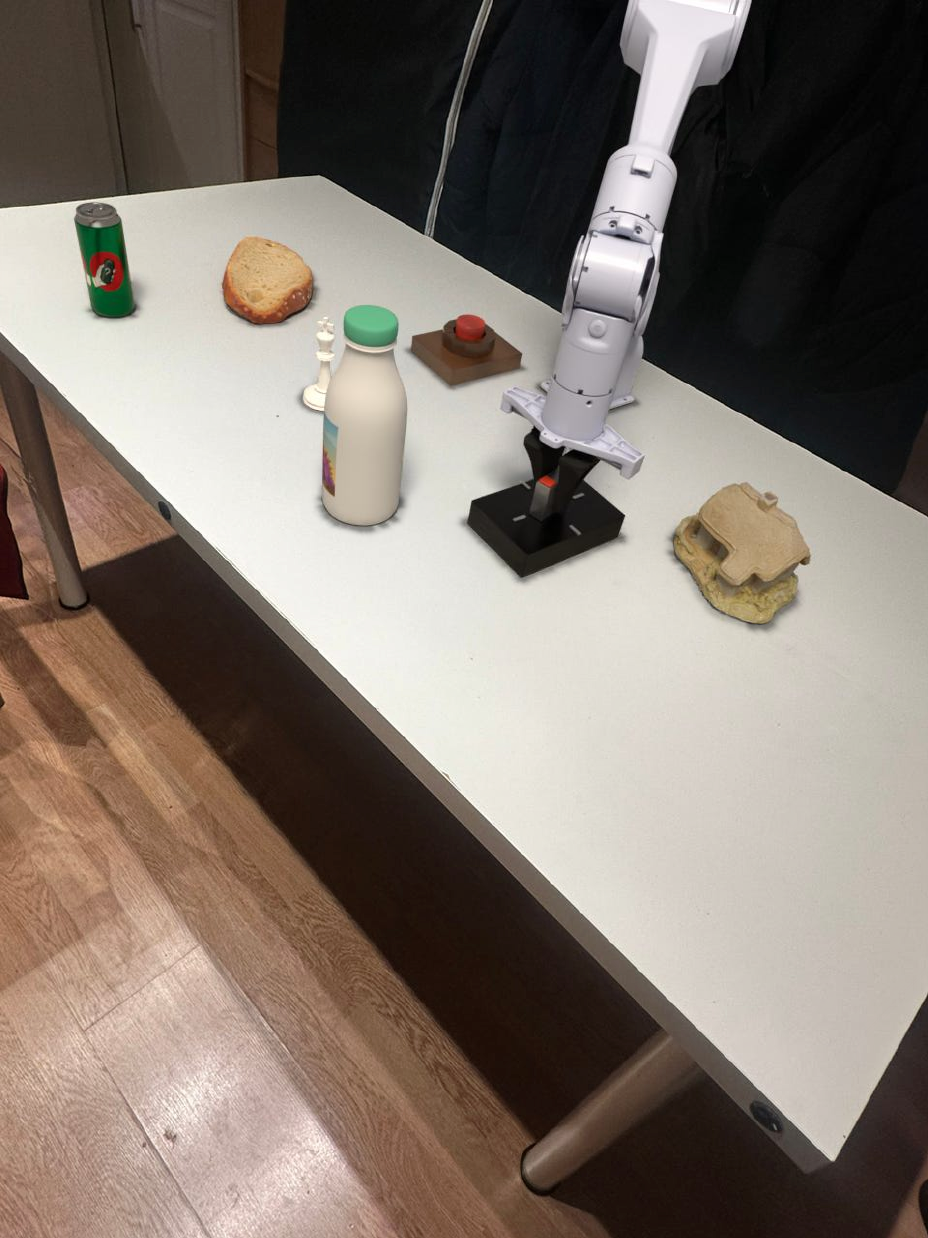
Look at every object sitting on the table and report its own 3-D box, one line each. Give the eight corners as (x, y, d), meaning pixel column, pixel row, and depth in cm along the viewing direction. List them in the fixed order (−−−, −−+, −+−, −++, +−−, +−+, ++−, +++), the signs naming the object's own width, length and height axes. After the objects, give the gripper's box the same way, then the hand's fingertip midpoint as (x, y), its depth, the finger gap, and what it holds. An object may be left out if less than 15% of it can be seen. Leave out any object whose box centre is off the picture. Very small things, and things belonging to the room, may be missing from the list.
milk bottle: (409, 493, 85) (430, 310, 71) (380, 537, 80) (396, 348, 66) (341, 471, 86) (348, 285, 72) (308, 512, 81) (308, 321, 67)
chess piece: (338, 415, 93) (341, 333, 86) (296, 405, 93) (296, 322, 86) (351, 393, 97) (355, 312, 89) (311, 384, 97) (311, 302, 90)
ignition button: (472, 325, 105) (474, 312, 104) (489, 338, 103) (491, 325, 102) (449, 330, 103) (451, 316, 102) (466, 343, 101) (468, 330, 100)
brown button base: (478, 336, 111) (483, 307, 108) (519, 368, 106) (525, 340, 103) (410, 351, 105) (413, 322, 102) (450, 386, 101) (454, 356, 98)
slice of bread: (262, 245, 120) (261, 219, 118) (355, 291, 115) (356, 264, 112) (163, 279, 109) (160, 251, 107) (261, 331, 103) (260, 303, 101)
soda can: (144, 310, 103) (129, 211, 95) (111, 323, 100) (93, 222, 91) (115, 296, 105) (98, 197, 96) (82, 308, 101) (62, 207, 93)
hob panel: (561, 488, 90) (568, 464, 87) (618, 538, 85) (627, 514, 83) (466, 522, 83) (470, 498, 81) (522, 578, 79) (528, 554, 76)
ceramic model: (817, 601, 82) (866, 524, 75) (740, 636, 77) (785, 557, 70) (720, 517, 90) (756, 440, 83) (644, 544, 85) (676, 464, 78)
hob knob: (557, 493, 84) (566, 459, 81) (569, 500, 83) (579, 466, 80) (528, 514, 81) (537, 479, 78) (541, 522, 80) (550, 487, 77)
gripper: (491, 358, 72) (469, 483, 82) (631, 432, 67) (590, 556, 76) (536, 334, 76) (510, 456, 86) (672, 402, 71) (628, 523, 81)
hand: (550, 501), depth 81 cm, fingers closed on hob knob, 2 cm apart
